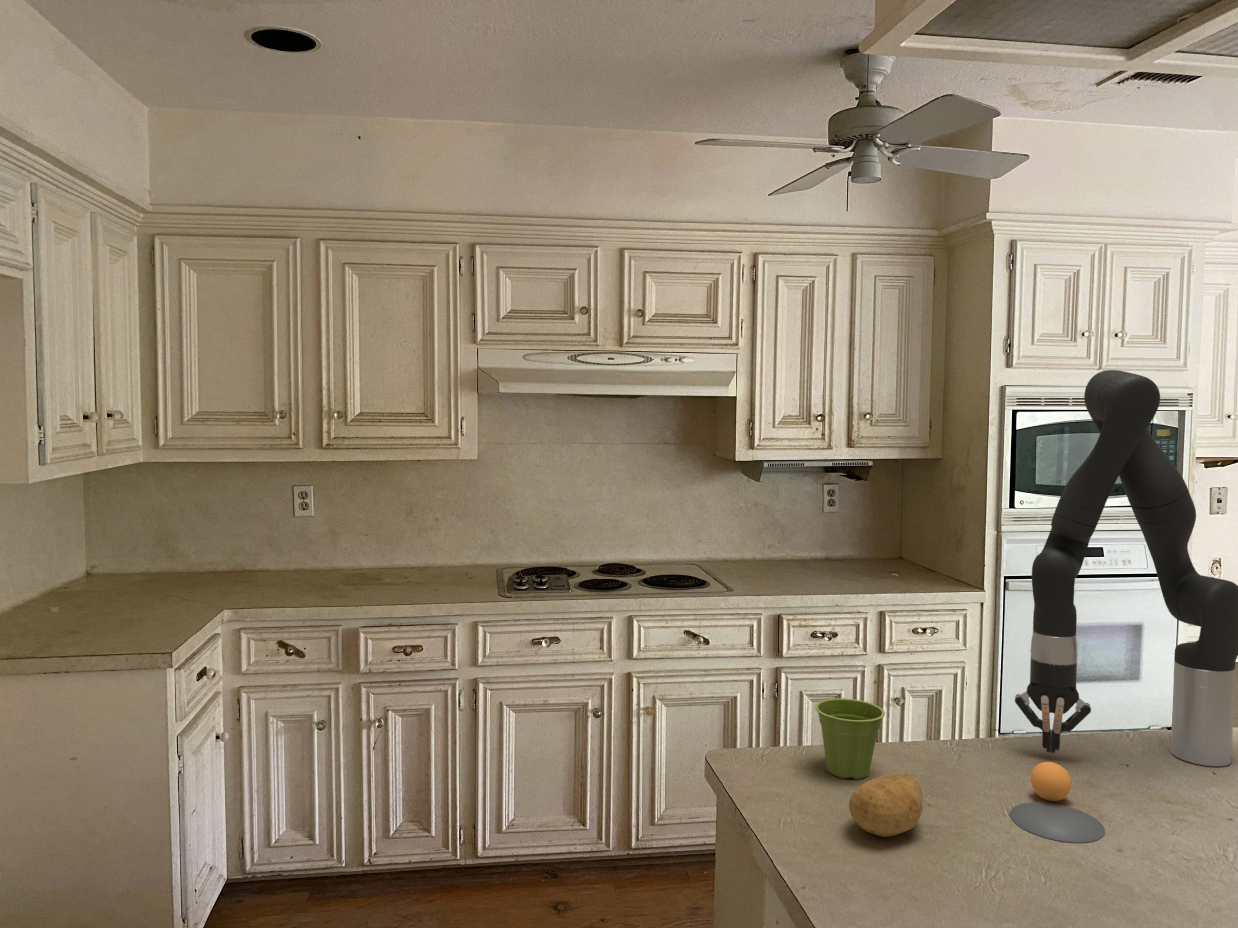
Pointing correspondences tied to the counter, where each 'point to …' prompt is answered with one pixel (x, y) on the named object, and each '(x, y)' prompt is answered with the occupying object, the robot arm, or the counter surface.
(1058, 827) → the disc
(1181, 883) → the counter surface
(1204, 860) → the counter surface
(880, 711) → the plant pot
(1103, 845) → the counter surface
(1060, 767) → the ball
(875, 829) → the potato
